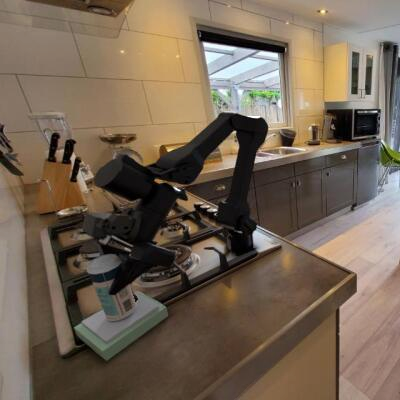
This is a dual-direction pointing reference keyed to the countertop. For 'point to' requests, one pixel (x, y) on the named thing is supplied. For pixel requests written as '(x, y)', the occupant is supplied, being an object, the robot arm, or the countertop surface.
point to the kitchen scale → (120, 327)
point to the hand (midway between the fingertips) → (103, 289)
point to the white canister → (102, 280)
